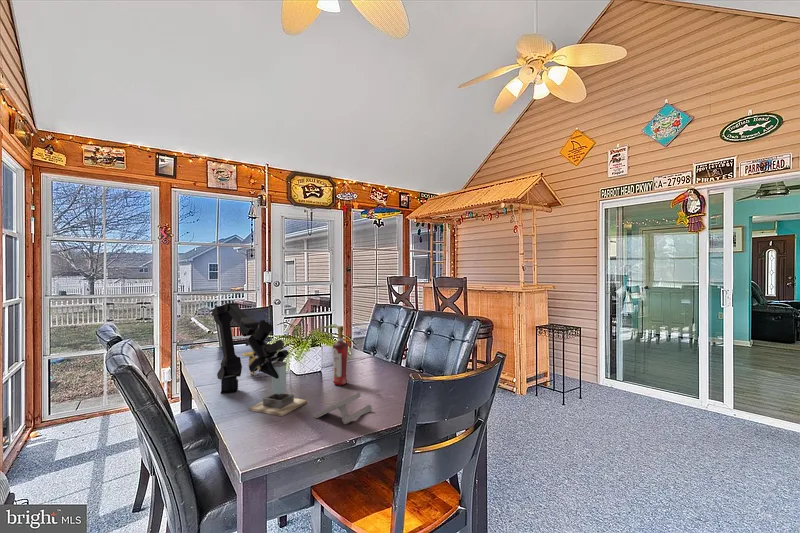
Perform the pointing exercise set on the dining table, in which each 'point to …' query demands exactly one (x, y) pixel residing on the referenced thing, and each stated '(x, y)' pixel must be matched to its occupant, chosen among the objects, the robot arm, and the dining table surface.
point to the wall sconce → (251, 359)
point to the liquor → (340, 359)
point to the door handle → (342, 407)
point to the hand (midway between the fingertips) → (281, 376)
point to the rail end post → (279, 384)
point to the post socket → (278, 404)
